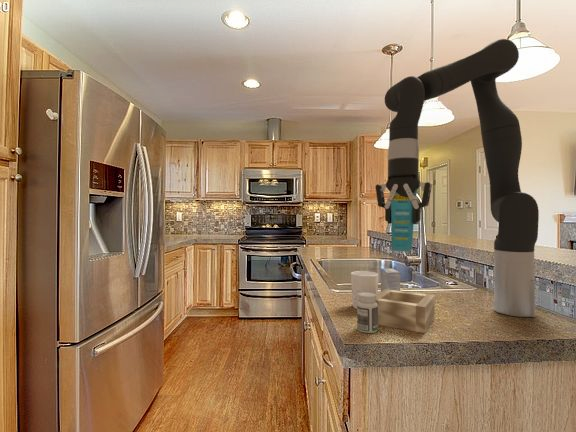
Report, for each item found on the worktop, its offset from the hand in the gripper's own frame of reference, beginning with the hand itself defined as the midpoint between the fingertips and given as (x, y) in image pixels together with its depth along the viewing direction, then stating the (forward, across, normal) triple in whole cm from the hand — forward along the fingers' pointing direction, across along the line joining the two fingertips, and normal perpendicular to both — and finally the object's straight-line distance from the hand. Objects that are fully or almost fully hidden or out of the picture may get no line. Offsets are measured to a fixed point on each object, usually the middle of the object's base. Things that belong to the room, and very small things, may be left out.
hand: (402, 223), depth 85 cm
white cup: (+25, +12, -5) cm, 28 cm away
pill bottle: (+25, +4, +12) cm, 28 cm away
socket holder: (+25, -1, +1) cm, 25 cm away
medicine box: (+25, +10, -23) cm, 36 cm away
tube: (+7, 0, 0) cm, 7 cm away
